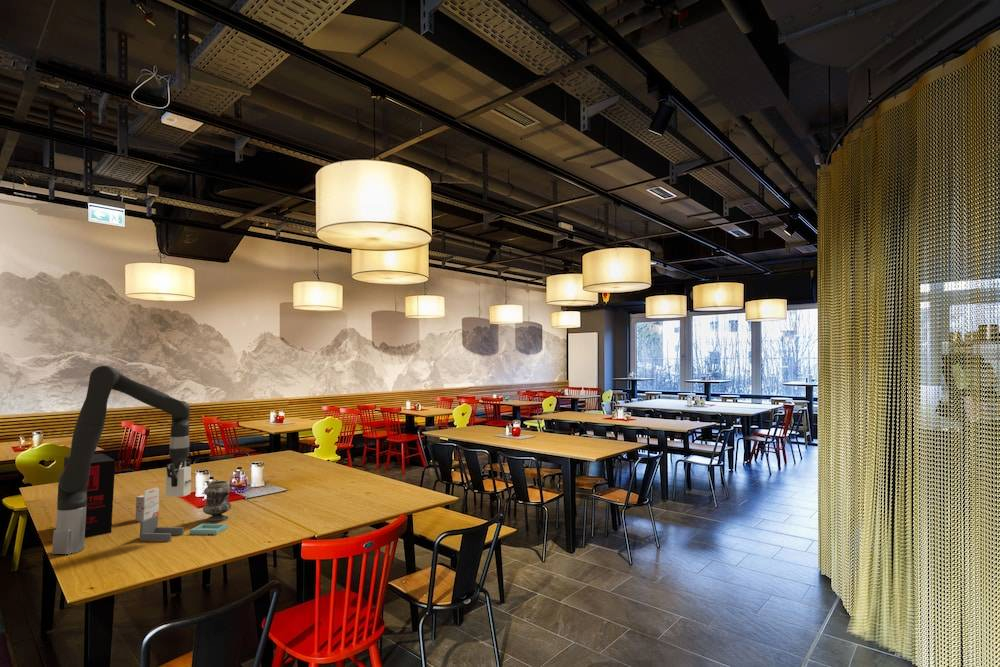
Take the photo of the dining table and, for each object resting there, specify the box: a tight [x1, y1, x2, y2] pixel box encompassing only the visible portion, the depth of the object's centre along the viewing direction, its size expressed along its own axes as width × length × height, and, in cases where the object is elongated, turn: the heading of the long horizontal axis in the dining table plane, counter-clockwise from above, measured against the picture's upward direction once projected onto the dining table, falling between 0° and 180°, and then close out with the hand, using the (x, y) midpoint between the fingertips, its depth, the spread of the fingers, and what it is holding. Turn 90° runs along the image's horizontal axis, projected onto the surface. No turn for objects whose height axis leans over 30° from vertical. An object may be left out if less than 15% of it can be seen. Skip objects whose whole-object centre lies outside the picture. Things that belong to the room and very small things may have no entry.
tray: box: [189, 523, 229, 536], centre depth 233 cm, size 9×12×2 cm
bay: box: [139, 514, 185, 542], centre depth 224 cm, size 10×13×8 cm
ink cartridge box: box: [135, 486, 160, 522], centre depth 251 cm, size 9×5×15 cm, turn 168°
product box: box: [63, 453, 116, 538], centre depth 235 cm, size 26×14×32 cm, turn 48°
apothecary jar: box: [202, 480, 232, 523], centre depth 251 cm, size 12×12×18 cm
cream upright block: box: [165, 466, 192, 498], centre depth 228 cm, size 5×9×12 cm, turn 89°
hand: (178, 484), depth 228 cm, fingers closed on cream upright block, 5 cm apart
